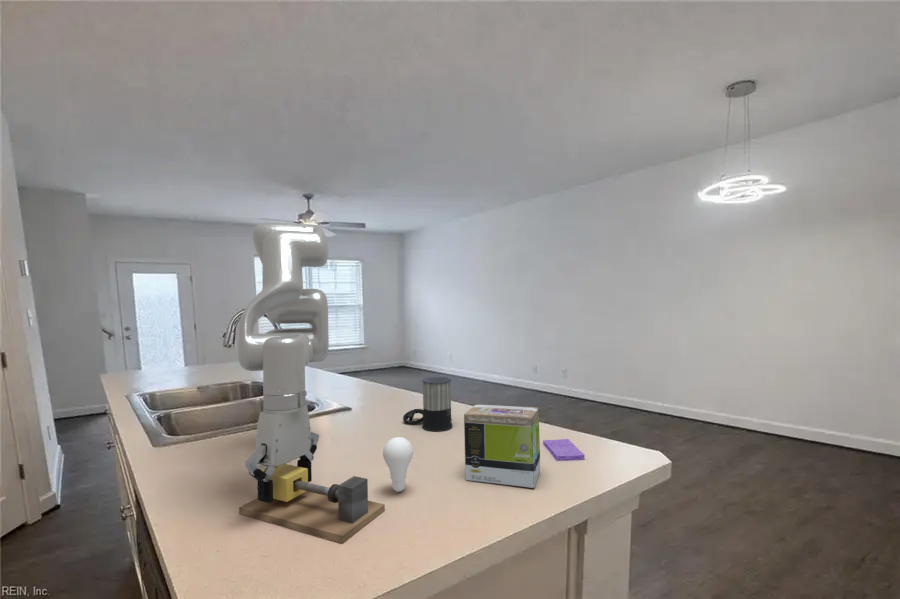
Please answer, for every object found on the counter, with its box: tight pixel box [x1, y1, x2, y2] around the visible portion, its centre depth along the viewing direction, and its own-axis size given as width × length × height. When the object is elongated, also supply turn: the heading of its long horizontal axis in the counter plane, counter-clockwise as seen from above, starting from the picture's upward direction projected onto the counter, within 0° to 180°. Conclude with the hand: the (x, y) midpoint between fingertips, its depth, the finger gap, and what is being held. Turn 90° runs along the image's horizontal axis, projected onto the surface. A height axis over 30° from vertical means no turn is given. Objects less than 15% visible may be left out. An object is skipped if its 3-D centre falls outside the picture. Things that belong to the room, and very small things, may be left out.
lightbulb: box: [382, 436, 414, 493], centre depth 90 cm, size 6×6×11 cm
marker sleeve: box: [270, 463, 309, 502], centre depth 84 cm, size 6×5×4 cm
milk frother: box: [402, 376, 453, 432], centre depth 137 cm, size 14×16×15 cm
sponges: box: [542, 438, 586, 462], centre depth 112 cm, size 7×13×2 cm, turn 3°
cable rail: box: [238, 467, 386, 544], centre depth 81 cm, size 24×12×7 cm, turn 65°
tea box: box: [463, 403, 541, 489], centre depth 97 cm, size 15×10×15 cm, turn 71°
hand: (285, 490), depth 84 cm, fingers open, 9 cm apart
